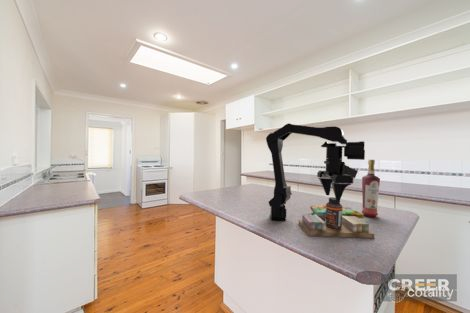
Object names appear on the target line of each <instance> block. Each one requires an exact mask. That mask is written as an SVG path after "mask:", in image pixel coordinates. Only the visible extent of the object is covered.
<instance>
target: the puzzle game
mask: <svg viewBox="0 0 470 313" xmlns="http://www.w3.org/2000/svg"><path fill="white" fill-rule="evenodd" d="M309 209H310V210H311V212H312V215H317V216H318V217H319V218H321V219H322V220H323V221H325V214H326V204H325V205H313V204H312V205H310V208H309ZM342 216H355V217H357V218H359V219H363V218H364V217H365V215H364V214H363V213H362V212H359V211H358V210H356V209H354V208H352V207H344V206H342Z"/></svg>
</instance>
